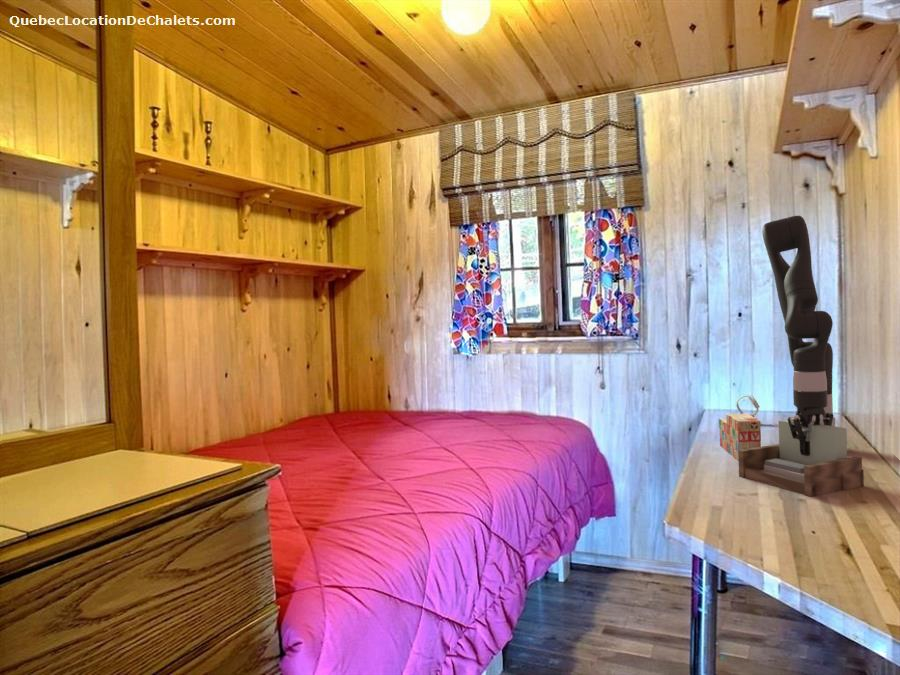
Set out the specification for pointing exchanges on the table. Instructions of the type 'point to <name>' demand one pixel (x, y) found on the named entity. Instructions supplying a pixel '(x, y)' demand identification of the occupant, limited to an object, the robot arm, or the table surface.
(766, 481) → the rack
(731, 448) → the stack of blocks
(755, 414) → the watch
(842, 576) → the table surface
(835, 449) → the tall sheet
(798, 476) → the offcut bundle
